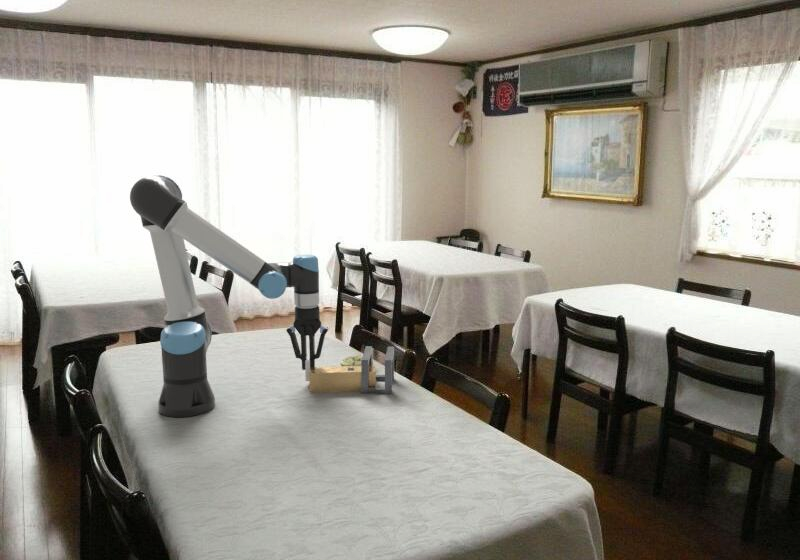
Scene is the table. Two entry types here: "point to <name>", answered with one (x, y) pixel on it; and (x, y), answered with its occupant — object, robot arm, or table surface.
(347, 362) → the decorated donut
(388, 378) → the grey cradle stand
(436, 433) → the table surface
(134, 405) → the table surface
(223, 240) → the robot arm
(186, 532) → the table surface
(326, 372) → the tan wooden brick
